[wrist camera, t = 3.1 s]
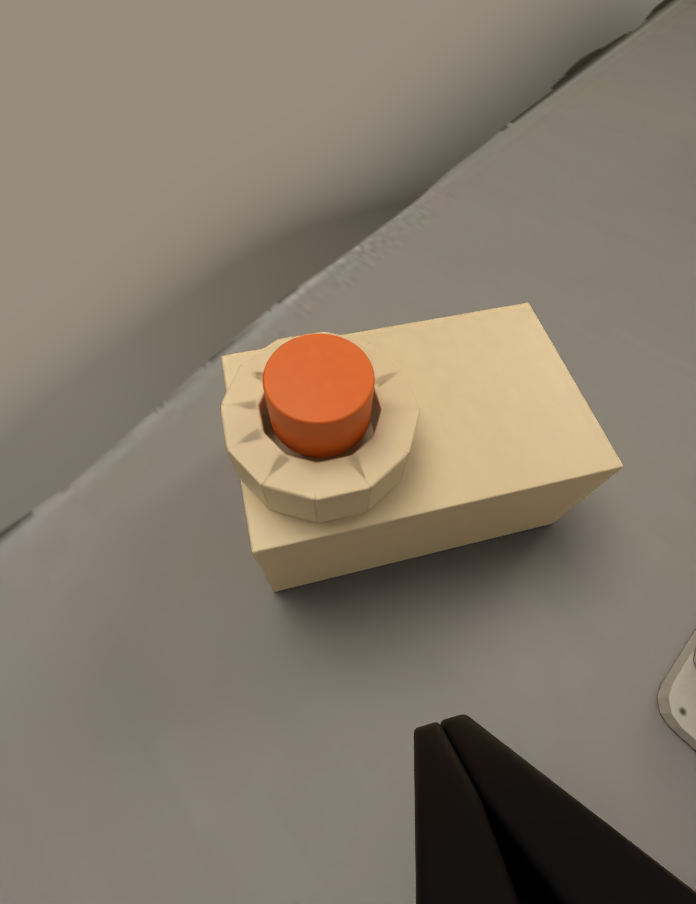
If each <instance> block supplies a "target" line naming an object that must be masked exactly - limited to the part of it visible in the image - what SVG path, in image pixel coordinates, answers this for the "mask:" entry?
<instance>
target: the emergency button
mask: <svg viewBox="0 0 696 904" xmlns="http://www.w3.org/2000/svg"><path fill="white" fill-rule="evenodd" d="M657 699H658V705H659V710H660V714H661V715H662V717H663V718H664V720H665V721H666V722H667V724H668V725H669V727H670V728H671V729H672V730H674V731H675V732H676V733H677V734H678V735H679V736H680V737H681V738H682V739H683V740H685V741H686V742H687V743H688V744H689V745H690V746H691V747H692V748H693V749H694V750H696V630H695V631H694V633H693V634H692V636H691V638H690V639H689V641H688V642H687V644H686V646H685V647H684V649H683V650H682V652H681V654H680V655H679V657H678V658H677V660H676V662H675V663H674V665H673V666H672V668H671V670H670V671H669V673H668V674H667V676H666V677H665V679H664V681H663V682H662V684H661V687H660V690H659V694H658V697H657Z"/></svg>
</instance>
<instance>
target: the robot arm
mask: <svg viewBox="0 0 696 904" xmlns="http://www.w3.org/2000/svg"><path fill="white" fill-rule="evenodd" d="M414 782H415V855H416V904H696V892H695V891H694V890H692V889H691V888H690V887H689V886H687V885H686V884H685V883H683V882H682V881H681V880H680V879H678V878H677V877H676V876H674V875H673V874H672V873H670V872H669V871H668V870H667V869H665V868H664V867H663V866H661V865H660V864H659V863H658V862H656V861H655V860H654V859H652V858H651V857H650V856H648V855H647V854H646V853H645V852H643V851H642V850H641V849H639V848H638V847H637V846H636V845H634V844H633V843H632V842H630V841H629V840H628V839H626V838H625V837H624V836H623V835H621V834H620V833H619V832H617V831H616V830H615V829H614V828H612V827H611V826H610V825H608V824H607V823H606V822H604V821H603V820H602V819H601V818H599V817H598V816H597V815H595V814H594V813H593V812H592V811H590V810H589V809H588V808H586V807H585V806H584V805H582V804H581V803H580V802H579V801H577V800H576V799H575V798H573V797H572V796H571V795H570V794H568V793H567V792H566V791H564V790H563V789H562V788H560V787H559V786H558V785H557V784H555V783H554V782H553V781H551V780H550V779H549V778H548V777H546V776H545V775H544V774H542V773H541V772H540V771H538V770H537V769H536V768H535V767H533V766H532V765H531V764H529V763H528V762H527V761H526V760H524V759H523V758H522V757H520V756H519V755H518V754H516V753H515V752H514V751H513V750H511V749H510V748H509V747H507V746H506V745H505V744H504V743H502V742H501V741H500V740H498V739H497V738H496V737H494V736H493V735H492V734H491V733H489V732H488V731H487V730H485V729H484V728H483V727H482V726H480V725H479V724H478V723H476V722H475V721H474V720H472V719H471V718H470V717H468V716H467V715H458V716H455V717H451V718H448V719H445V720H443V721H442V722H441V724H439V723H437V722H435V723H431V724H428V725H425V726H421V727H418V728H416V729H415V731H414Z"/></svg>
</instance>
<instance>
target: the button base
mask: <svg viewBox="0 0 696 904" xmlns="http://www.w3.org/2000/svg"><path fill="white" fill-rule="evenodd" d="M312 334H330V335H335V336H339V337H342V338H344V339H347V340H349V341H351V342H352V343H354V344H355V345H357V346H358V347H359V348H360V349H361V350H362V351H363V352H364V353H365V354H366V355H367V357H368V358H369V360H370V362H371V364H372V366H373V369H374V374H375V385H374V393H373V401H372V409H371V416H370V422H369V426H368V429H367V431H366V433H365V434H364V436H363V437H362V439H361V440H360V441H359V442H358V443H357V444H356V445H354V446H353V447H352V448H350V449H349V450H347V451H345V452H343V453H340V454H338V455H334V456H329V457H310V456H306V455H302V454H299V453H297V452H295V451H293V450H291V449H290V448H288V447H287V446H286V445H284V444H283V443H282V442H281V441H280V439H279V438H278V437H277V435H276V434H275V432H274V430H273V428H272V424H271V420H270V416H269V411H268V407H267V402H266V398H265V394H264V389H263V382H262V380H263V372H264V368H265V366H266V363H267V361H268V360H269V358H270V356H271V355H272V354H273V353H274V352H275V351H276V350H277V349H278V348H279V347H280V346H281V345H283V344H284V343H286V342H288V341H289V340H292V339H294V338H296V337H299V336H295V337H289V338H283V339H279V340H276V341H275V342H273V343H272V344H270V345H269V346H267V347H266V348H264V349H259V350H253V351H247V352H241V353H236V354H230V355H224V356H222V357H221V359H222V366H223V372H224V379H225V385H226V391H227V393H226V395H225V397H224V399H223V401H222V403H221V407H220V409H221V416H222V423H223V430H224V436H225V443H226V449H227V451H228V453H229V456H230V458H231V460H232V463H233V465H234V467H235V470H236V472H237V474H238V477H239V478H240V480H241V487H242V493H243V499H244V506H245V512H246V518H247V525H248V531H249V538H250V544H251V550H252V553H253V555H254V557H255V559H256V560H257V562H258V564H259V566H260V567H261V569H262V571H263V573H264V575H265V576H266V578H267V580H268V582H269V584H270V585H271V587H272V589H273V591H274V592H276V591H280V590H284V589H289V588H293V587H297V586H301V585H305V584H309V583H313V582H317V581H321V580H325V579H329V578H333V577H337V576H341V575H345V574H350V573H354V572H358V571H362V570H366V569H370V568H374V567H378V566H382V565H386V564H390V563H394V562H398V561H402V560H406V559H411V558H415V557H419V556H423V555H427V554H431V553H435V552H439V551H443V550H447V549H451V548H455V547H459V546H463V545H467V544H472V543H476V542H480V541H484V540H488V539H492V538H496V537H500V536H504V535H508V534H512V533H516V532H520V531H524V530H528V529H533V528H537V527H541V526H545V525H549V524H553V523H554V522H555V521H556V520H558V519H559V518H560V517H561V516H563V515H564V514H565V513H566V512H568V511H569V510H570V509H571V508H572V507H574V506H575V505H576V504H577V503H579V502H580V501H581V500H582V499H584V498H585V497H586V496H587V495H589V494H590V493H591V492H592V491H594V490H595V489H596V488H597V487H599V486H600V485H601V484H602V483H604V482H605V481H606V480H607V479H609V478H610V477H611V476H612V475H614V474H615V473H616V472H617V471H619V470H620V469H621V468H622V467H623V465H622V463H621V461H620V459H619V458H618V456H617V454H616V452H615V451H614V449H613V447H612V446H611V444H610V442H609V440H608V439H607V437H606V435H605V434H604V432H603V430H602V428H601V427H600V425H599V423H598V421H597V420H596V418H595V416H594V415H593V413H592V411H591V409H590V408H589V406H588V404H587V403H586V401H585V399H584V397H583V396H582V394H581V392H580V390H579V389H578V387H577V385H576V384H575V382H574V380H573V378H572V377H571V375H570V373H569V372H568V370H567V368H566V366H565V365H564V363H563V361H562V359H561V358H560V356H559V354H558V353H557V351H556V349H555V347H554V346H553V344H552V342H551V341H550V339H549V337H548V335H547V334H546V332H545V330H544V329H543V327H542V325H541V323H540V322H539V320H538V318H537V316H536V315H535V313H534V311H533V310H532V308H531V306H530V304H529V303H524V304H518V305H512V306H506V307H501V308H495V309H489V310H483V311H478V312H472V313H466V314H460V315H455V316H449V317H443V318H437V319H432V320H426V321H420V322H414V323H408V324H403V325H397V326H391V327H385V328H380V329H374V330H368V331H362V332H357V333H351V334H345V335H337V334H333V333H329V332H318V333H312ZM306 335H308V334H306ZM301 336H303V335H301Z"/></svg>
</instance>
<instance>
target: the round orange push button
mask: <svg viewBox="0 0 696 904" xmlns="http://www.w3.org/2000/svg"><path fill="white" fill-rule="evenodd" d="M262 382H263V389H264V394H265V398H266V402H267V407H268V411H269V416H270V420H271V424H272V428H273V430H274V432H275V434H276V435H277V437H278V438H279V439H280V441H281V442H282V443H283V444H284V445H286V446H287V447H288V448H290V449H291V450H293V451H295V452H297V453H299V454H302V455H306V456H310V457H329V456H334V455H338V454H340V453H343V452H345V451H347V450H349V449H350V448H352V447H353V446H354V445H356V444H357V443H358V442H359V441H360V440H361V439H362V437H363V436H364V434H365V433H366V431H367V429H368V426H369V422H370V416H371V409H372V401H373V393H374V385H375V374H374V369H373V366H372V364H371V362H370V360H369V358H368V357H367V355H366V354H365V353H364V352H363V351H362V350H361V349H360V348H359V347H358V346H357V345H355V344H354V343H352V342H351V341H349V340H347V339H344V338H342V337H339V336H335V335H330V334H308V335H303V336H299V337H296V338H294V339H292V340H289V341H288V342H286V343H284V344H283V345H281V346H280V347H279V348H278V349H277V350H276V351H275V352H274V353H273V354H272V355H271V356H270V358H269V360H268V361H267V363H266V366H265V368H264V372H263V380H262Z"/></svg>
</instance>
